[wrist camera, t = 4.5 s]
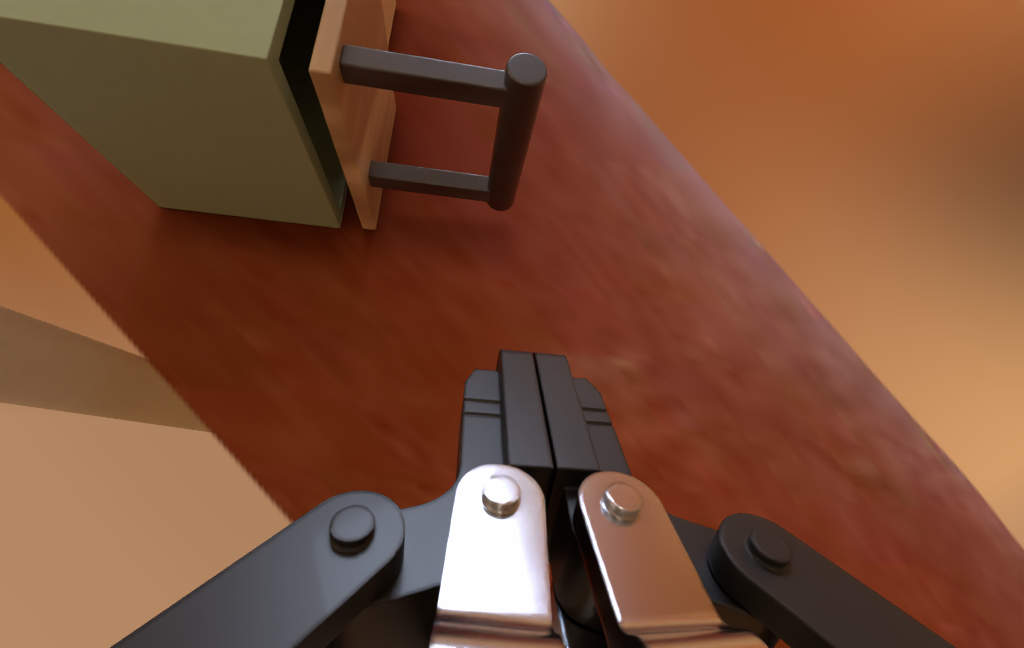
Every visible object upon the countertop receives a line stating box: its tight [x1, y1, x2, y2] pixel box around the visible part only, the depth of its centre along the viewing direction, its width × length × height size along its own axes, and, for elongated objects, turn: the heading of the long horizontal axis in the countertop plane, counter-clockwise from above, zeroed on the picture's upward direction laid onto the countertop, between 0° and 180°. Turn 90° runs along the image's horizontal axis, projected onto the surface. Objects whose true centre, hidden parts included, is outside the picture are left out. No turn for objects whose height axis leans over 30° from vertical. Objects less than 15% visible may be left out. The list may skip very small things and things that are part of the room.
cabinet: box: [0, 0, 396, 228], centre depth 24 cm, size 11×18×12 cm, turn 177°
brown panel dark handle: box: [309, 0, 547, 230], centre depth 23 cm, size 9×9×12 cm
